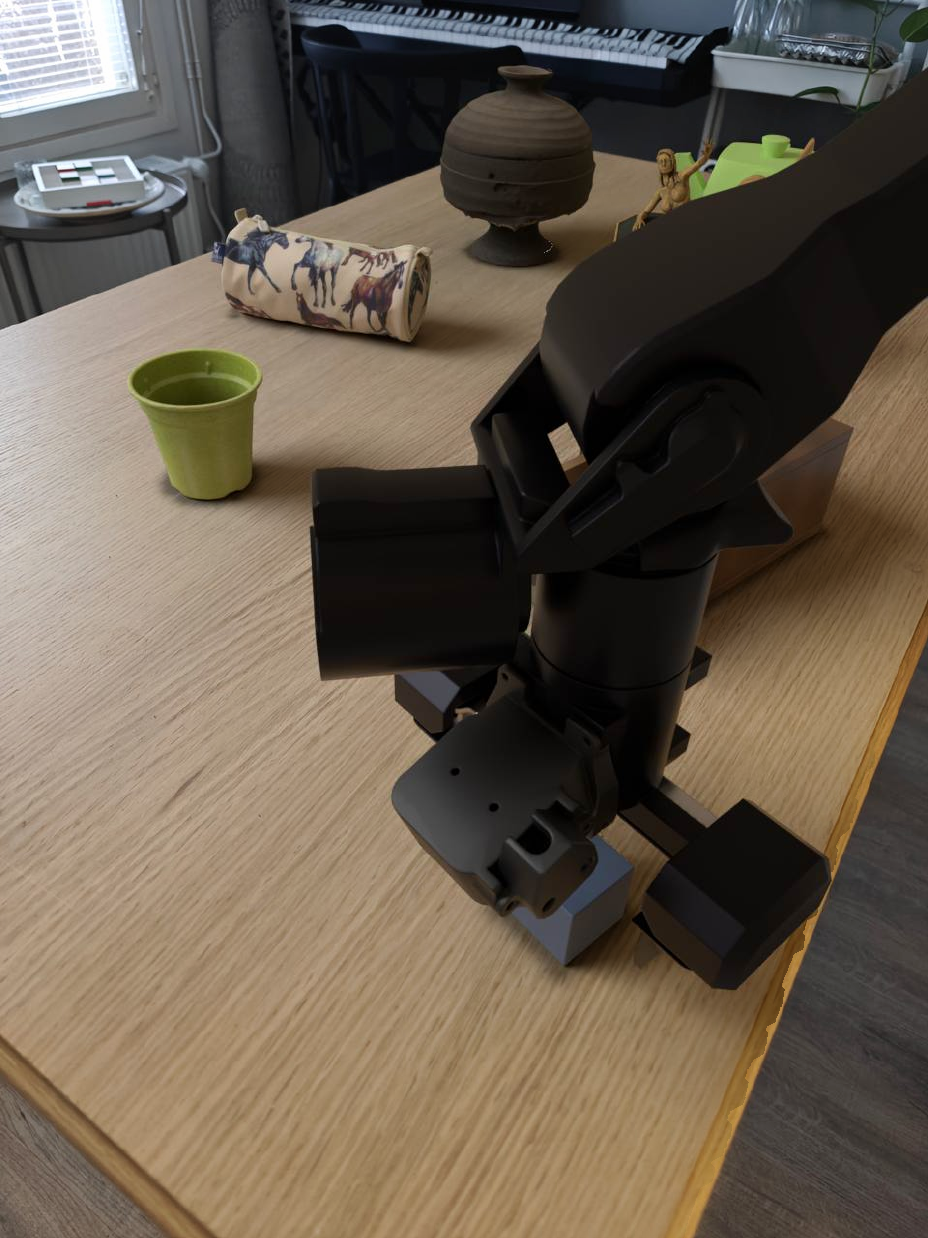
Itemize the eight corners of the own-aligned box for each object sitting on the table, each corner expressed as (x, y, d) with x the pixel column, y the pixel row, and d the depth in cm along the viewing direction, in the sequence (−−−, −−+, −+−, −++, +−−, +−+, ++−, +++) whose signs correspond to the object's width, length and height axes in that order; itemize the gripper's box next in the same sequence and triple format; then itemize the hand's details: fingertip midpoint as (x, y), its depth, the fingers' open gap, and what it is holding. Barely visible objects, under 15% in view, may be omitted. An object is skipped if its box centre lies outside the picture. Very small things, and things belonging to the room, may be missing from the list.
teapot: (642, 262, 111) (660, 143, 103) (679, 216, 125) (697, 108, 117) (799, 288, 106) (832, 165, 97) (819, 237, 120) (849, 125, 112)
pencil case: (215, 322, 94) (200, 223, 88) (257, 294, 101) (246, 198, 94) (414, 359, 89) (413, 256, 83) (445, 326, 95) (447, 228, 89)
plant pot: (281, 449, 76) (270, 348, 70) (266, 514, 68) (251, 407, 63) (165, 448, 75) (144, 346, 70) (137, 513, 68) (111, 405, 62)
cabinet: (695, 610, 61) (722, 500, 56) (569, 531, 68) (582, 426, 62) (819, 531, 69) (854, 427, 63) (695, 467, 75) (717, 367, 70)
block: (623, 916, 44) (635, 866, 41) (563, 967, 42) (572, 918, 39) (563, 861, 46) (571, 810, 43) (503, 907, 44) (508, 856, 41)
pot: (504, 210, 123) (521, 37, 109) (609, 258, 114) (644, 77, 100) (404, 244, 113) (410, 58, 99) (512, 299, 105) (535, 105, 91)
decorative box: (597, 358, 90) (625, 136, 78) (603, 320, 98) (630, 110, 85) (808, 380, 88) (873, 154, 75) (798, 339, 95) (856, 126, 82)
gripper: (271, 593, 34) (307, 851, 44) (672, 959, 23) (597, 1188, 33) (498, 490, 39) (483, 740, 49) (903, 746, 29) (778, 997, 39)
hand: (568, 889), depth 43 cm, fingers open, 9 cm apart
